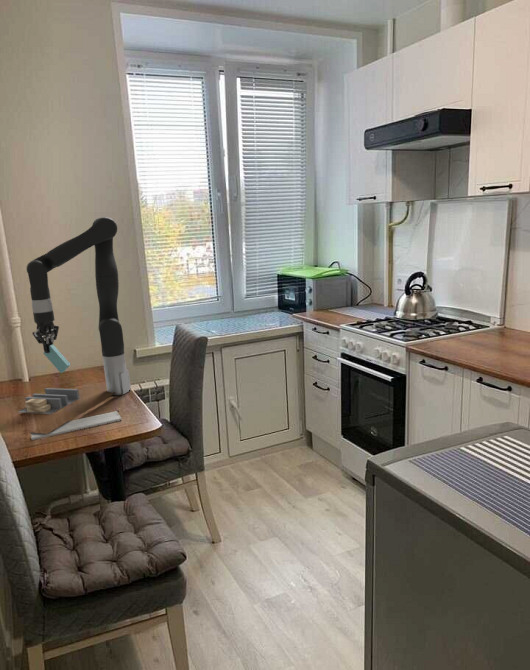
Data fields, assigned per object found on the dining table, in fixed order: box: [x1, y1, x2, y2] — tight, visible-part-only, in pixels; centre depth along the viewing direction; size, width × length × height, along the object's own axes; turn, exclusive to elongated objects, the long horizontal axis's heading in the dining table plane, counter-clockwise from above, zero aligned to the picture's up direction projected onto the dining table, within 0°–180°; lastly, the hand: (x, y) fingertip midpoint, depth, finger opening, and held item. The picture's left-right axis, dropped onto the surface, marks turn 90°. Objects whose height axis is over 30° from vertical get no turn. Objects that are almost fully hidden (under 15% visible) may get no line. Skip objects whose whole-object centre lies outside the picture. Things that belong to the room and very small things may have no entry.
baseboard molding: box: [30, 408, 122, 441], centre depth 188 cm, size 31×3×12 cm
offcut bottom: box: [26, 404, 51, 413], centre depth 201 cm, size 8×4×2 cm, turn 74°
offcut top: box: [24, 399, 47, 408], centre depth 201 cm, size 7×4×2 cm, turn 74°
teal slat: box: [43, 344, 72, 374], centre depth 207 cm, size 5×2×11 cm
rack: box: [18, 387, 81, 415], centre depth 207 cm, size 16×18×6 cm
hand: (49, 351), depth 207 cm, fingers closed on teal slat, 1 cm apart
